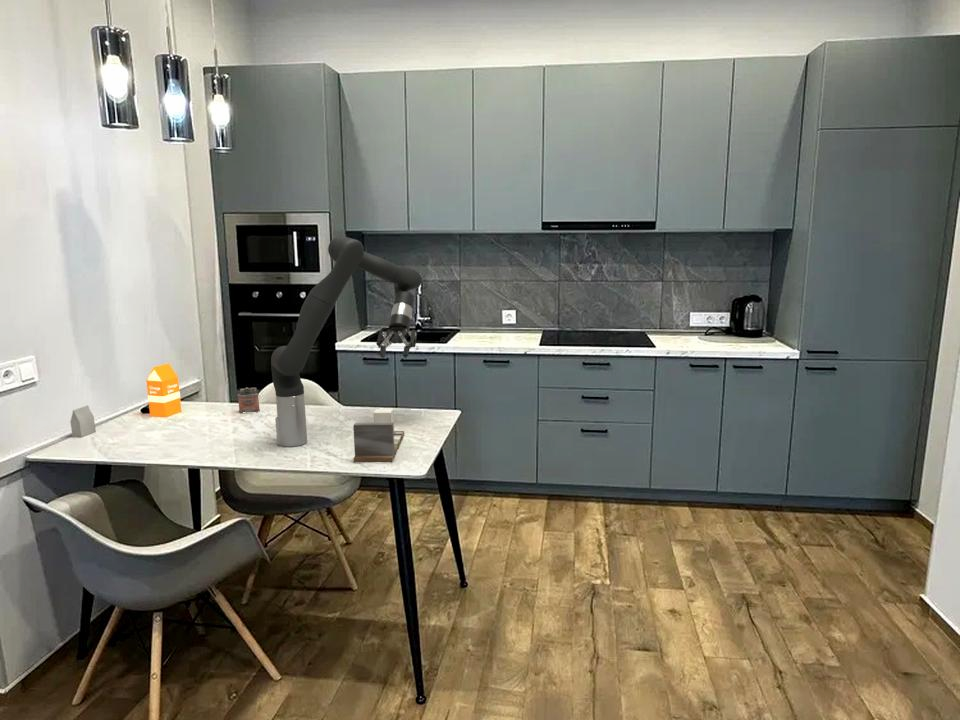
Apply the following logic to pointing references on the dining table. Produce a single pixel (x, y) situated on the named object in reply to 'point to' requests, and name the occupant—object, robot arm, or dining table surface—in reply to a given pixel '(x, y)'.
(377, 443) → the base
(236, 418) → the dining table surface
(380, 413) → the block
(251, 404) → the red container
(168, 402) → the orange juice
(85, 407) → the grey house block
